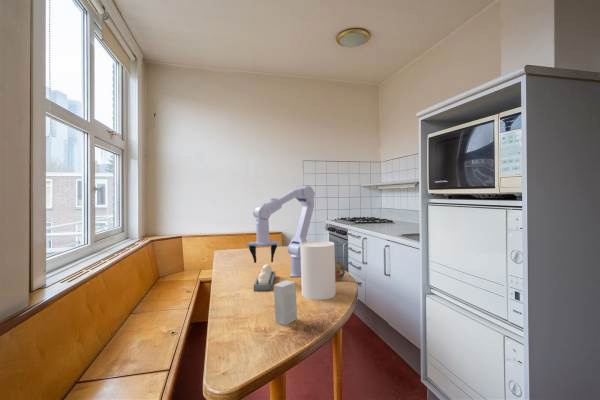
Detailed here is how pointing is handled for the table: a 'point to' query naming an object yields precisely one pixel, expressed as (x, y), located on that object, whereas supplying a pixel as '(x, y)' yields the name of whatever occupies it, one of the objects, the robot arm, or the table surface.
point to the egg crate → (271, 275)
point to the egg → (263, 278)
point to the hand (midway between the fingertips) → (263, 262)
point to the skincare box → (285, 302)
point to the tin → (339, 271)
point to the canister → (318, 270)
